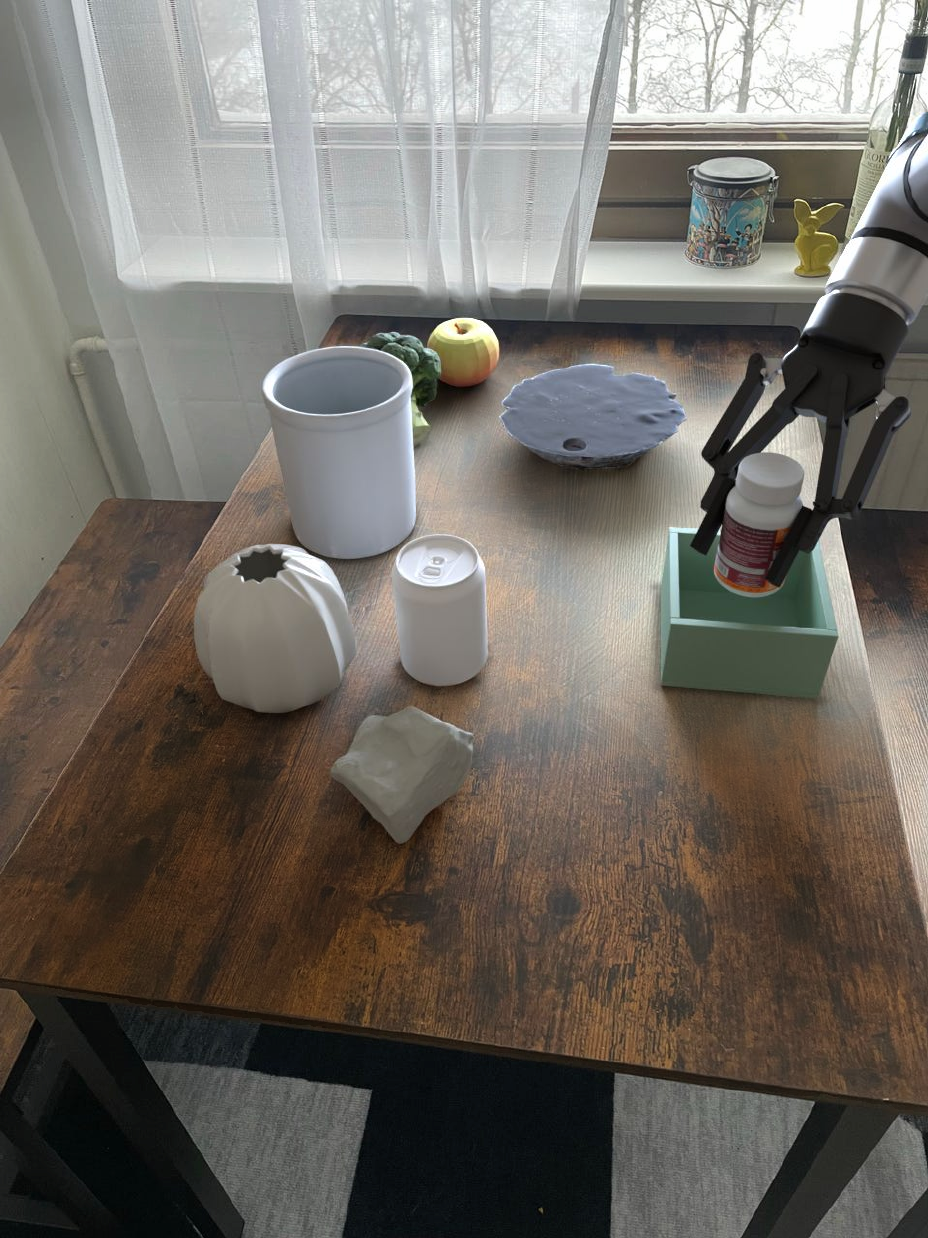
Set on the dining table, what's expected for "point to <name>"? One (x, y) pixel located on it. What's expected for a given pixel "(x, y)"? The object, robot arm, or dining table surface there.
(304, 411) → the utensil holder
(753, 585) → the pill bottle
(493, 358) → the apple
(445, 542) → the beverage can
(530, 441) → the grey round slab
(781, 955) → the dining table surface
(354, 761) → the decorative stone
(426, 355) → the vegetable
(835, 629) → the bin
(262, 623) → the vase
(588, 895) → the dining table surface
